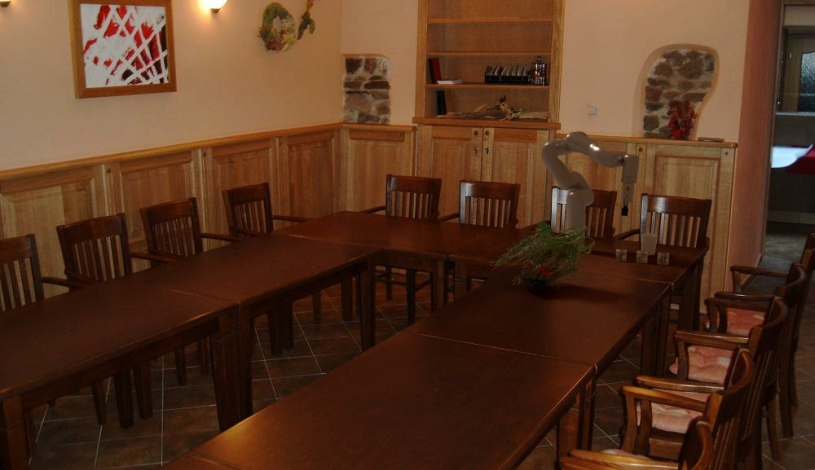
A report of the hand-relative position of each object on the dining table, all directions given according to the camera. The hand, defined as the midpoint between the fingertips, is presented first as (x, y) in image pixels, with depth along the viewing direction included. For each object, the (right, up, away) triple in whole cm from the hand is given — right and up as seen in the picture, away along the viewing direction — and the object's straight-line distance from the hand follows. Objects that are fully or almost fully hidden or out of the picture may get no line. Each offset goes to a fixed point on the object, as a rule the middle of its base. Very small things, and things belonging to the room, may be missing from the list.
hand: (624, 215), depth 424 cm
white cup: (+16, -20, +14) cm, 29 cm away
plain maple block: (+7, -23, -4) cm, 25 cm away
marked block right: (+17, -24, -7) cm, 30 cm away
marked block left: (-2, -22, -2) cm, 22 cm away
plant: (-49, -32, -54) cm, 80 cm away
